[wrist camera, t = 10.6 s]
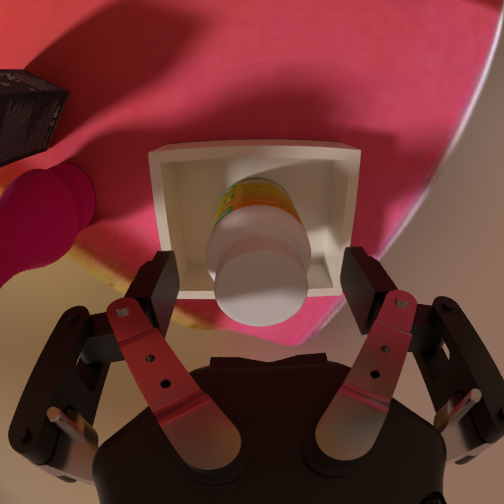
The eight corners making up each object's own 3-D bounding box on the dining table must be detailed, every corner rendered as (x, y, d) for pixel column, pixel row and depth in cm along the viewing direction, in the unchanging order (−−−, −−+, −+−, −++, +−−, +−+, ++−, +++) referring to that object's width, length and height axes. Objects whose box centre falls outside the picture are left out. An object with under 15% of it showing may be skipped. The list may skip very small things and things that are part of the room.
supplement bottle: (226, 167, 18) (207, 219, 10) (301, 185, 19) (344, 250, 10) (212, 236, 21) (189, 326, 12) (280, 250, 22) (299, 344, 13)
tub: (166, 144, 18) (147, 152, 14) (340, 142, 18) (361, 150, 14) (182, 269, 23) (171, 298, 19) (328, 266, 23) (340, 295, 19)
